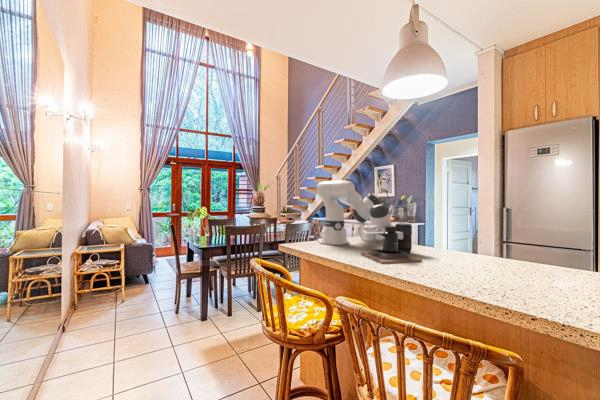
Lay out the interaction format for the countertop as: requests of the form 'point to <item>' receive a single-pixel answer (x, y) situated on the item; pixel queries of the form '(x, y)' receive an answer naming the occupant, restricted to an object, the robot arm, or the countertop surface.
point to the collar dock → (390, 257)
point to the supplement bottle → (390, 240)
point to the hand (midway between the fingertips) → (391, 237)
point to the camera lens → (404, 237)
